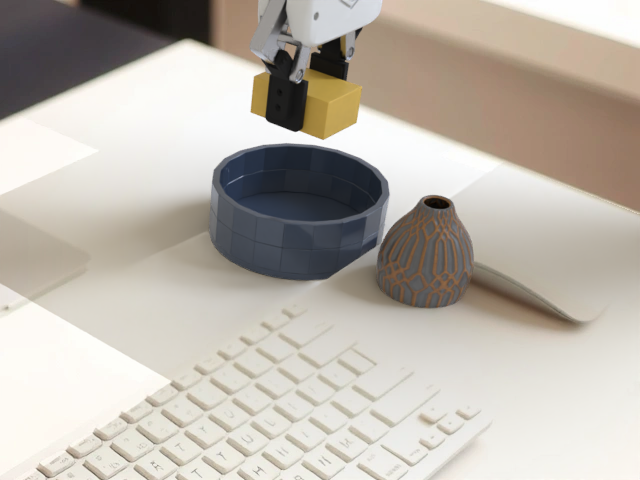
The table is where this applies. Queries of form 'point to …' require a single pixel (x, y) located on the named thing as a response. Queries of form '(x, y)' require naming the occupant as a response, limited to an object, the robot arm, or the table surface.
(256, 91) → the yellow block
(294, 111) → the robot arm
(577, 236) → the table surface
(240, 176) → the bowl
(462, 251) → the vase
